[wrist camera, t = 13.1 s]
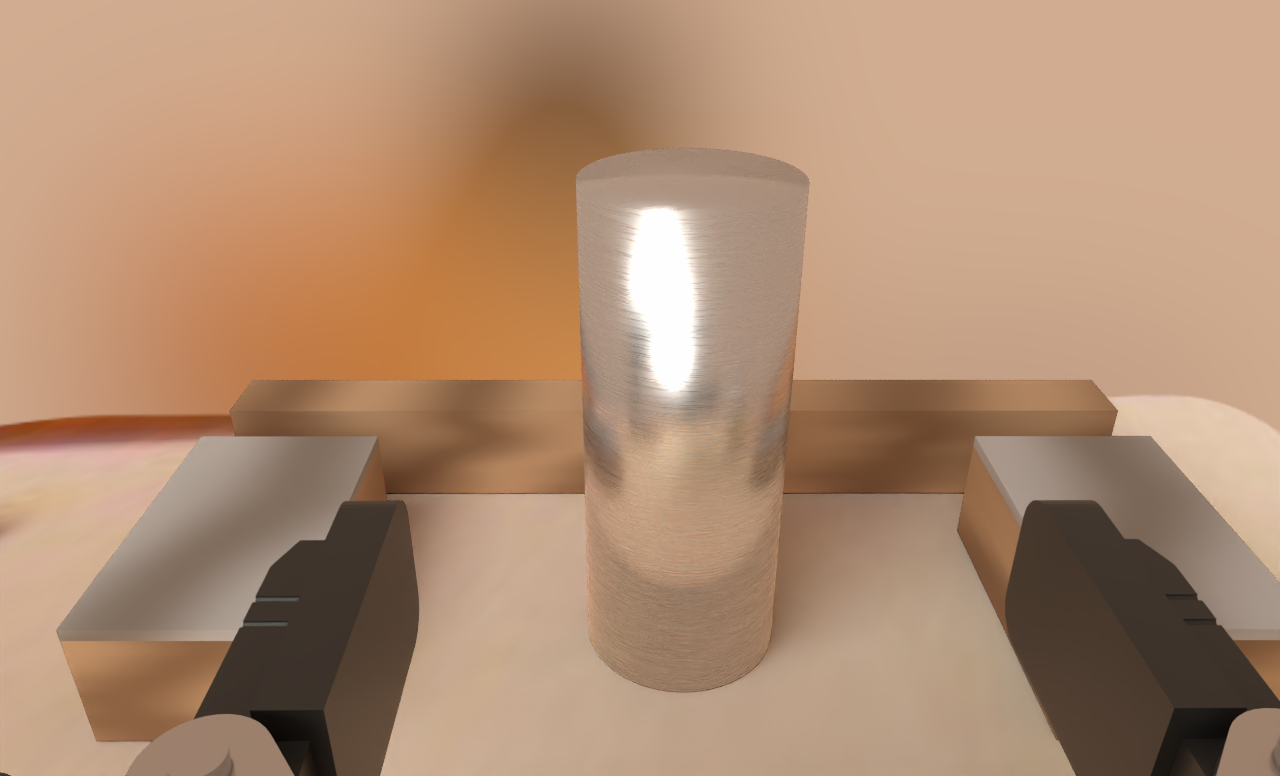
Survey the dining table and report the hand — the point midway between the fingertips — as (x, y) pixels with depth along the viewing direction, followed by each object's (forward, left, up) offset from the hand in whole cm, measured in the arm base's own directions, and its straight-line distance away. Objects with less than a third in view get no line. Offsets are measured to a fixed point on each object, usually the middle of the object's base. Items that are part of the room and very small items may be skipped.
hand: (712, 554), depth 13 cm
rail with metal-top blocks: (0, +12, -10) cm, 15 cm away
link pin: (0, +10, -10) cm, 14 cm away
